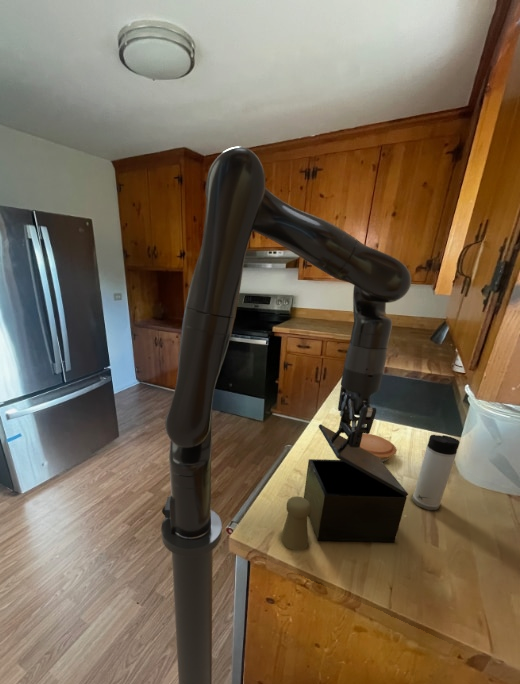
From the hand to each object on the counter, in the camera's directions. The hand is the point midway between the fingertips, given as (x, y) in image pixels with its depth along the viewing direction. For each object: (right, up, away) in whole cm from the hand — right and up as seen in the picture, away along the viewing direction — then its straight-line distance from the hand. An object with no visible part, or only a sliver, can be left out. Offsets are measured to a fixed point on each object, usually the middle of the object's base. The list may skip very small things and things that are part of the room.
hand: (348, 439), depth 73 cm
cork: (-12, -24, +2) cm, 26 cm away
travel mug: (+27, -19, +15) cm, 36 cm away
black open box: (+2, -21, +8) cm, 23 cm away
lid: (+3, -5, +2) cm, 6 cm away
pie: (+22, -10, +38) cm, 45 cm away
